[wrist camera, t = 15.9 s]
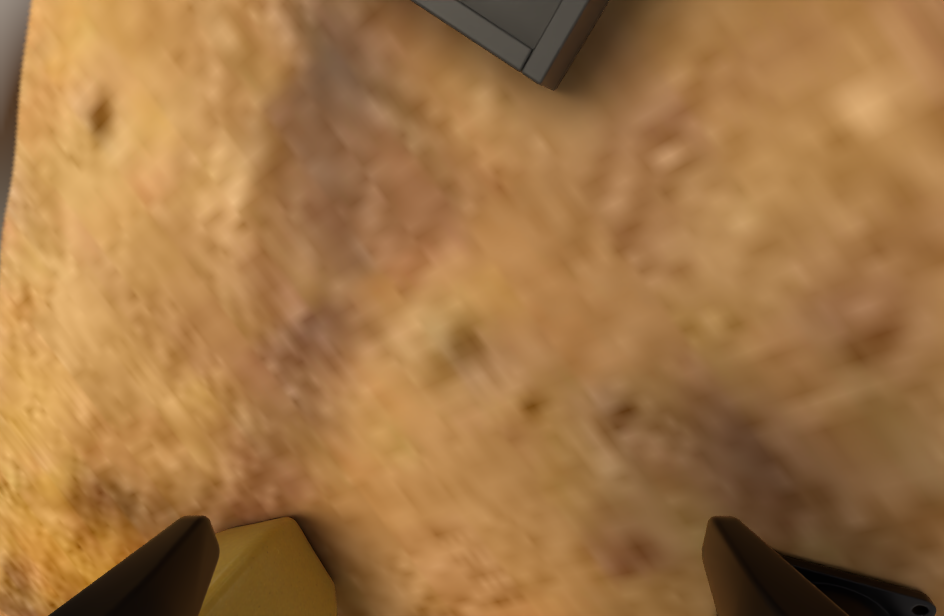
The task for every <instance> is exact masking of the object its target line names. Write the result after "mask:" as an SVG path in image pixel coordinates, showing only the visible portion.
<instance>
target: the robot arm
mask: <svg viewBox="0 0 944 616" xmlns="http://www.w3.org/2000/svg"><path fill="white" fill-rule="evenodd" d="M219 554H220V548H219V543H218V541H217V538H216V535H215V533H214V530H213V527H212V525H211V522H210V520H209V519H208V518H207V517H206V516H184V517H182V518H180V519H178V520H177V521H176V522H174V523H173V524H172V525H170V526H169V527H167V528H166V529H165V530H163V531H162V532H161V533H159V534H158V535H157V536H155V537H154V538H153V539H151V540H150V541H149V542H147V543H146V544H144V545H143V546H142V547H140V548H139V549H138V550H136V551H135V552H134V553H132V554H131V555H130V556H128V557H127V558H126V559H124V560H123V561H122V562H120V563H119V564H117V565H116V566H115V567H113V568H112V569H111V570H109V571H108V572H107V573H105V574H104V575H103V576H101V577H100V578H99V579H97V580H96V581H94V582H93V583H92V584H90V585H89V586H88V587H86V588H85V589H84V590H82V591H81V592H80V593H78V594H77V595H76V596H74V597H73V598H71V599H70V600H69V601H67V602H66V603H65V604H63V605H62V606H61V607H59V608H58V609H57V610H55V611H54V612H53V613H51V614H50V615H48V616H198V615H199V613H200V610H201V607H202V604H203V601H204V599H205V596H206V593H207V590H208V588H209V585H210V582H211V579H212V576H213V574H214V571H215V568H216V565H217V562H218V559H219ZM702 558H703V563H704V567H705V571H706V574H707V578H708V581H709V585H710V588H711V592H712V595H713V599H714V603H715V606H716V610H717V613H718V615H717V616H935V614H936V607H935V606H934V604H933V603H932V601H931V600H930V598H929V597H928V596H927V595H926V594H924V593H921V592H918V591H914V590H911V589H907V588H903V587H900V586H896V585H892V584H888V583H885V582H881V581H877V580H873V579H870V578H866V577H862V576H858V575H855V574H851V573H847V572H843V571H840V570H836V569H832V568H828V567H825V566H821V565H817V564H813V563H810V562H806V561H802V560H798V559H795V558H791V557H787V556H783V555H780V554H778V553H777V552H775V551H774V550H773V549H772V548H771V547H770V546H769V545H767V544H766V543H765V542H764V541H763V540H762V539H761V538H759V537H758V536H757V535H756V534H755V533H754V532H753V531H751V530H750V529H749V528H748V527H747V526H746V525H745V524H743V523H742V522H741V521H740V520H739V519H737V518H735V517H731V516H713V517H711V518H710V519H709V521H708V524H707V528H706V533H705V538H704V542H703V547H702Z"/></svg>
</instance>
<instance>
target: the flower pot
mask: <svg viewBox="0 0 944 616" xmlns="http://www.w3.org/2000/svg"><path fill="white" fill-rule="evenodd" d="M215 535H216V538H217V541H218V543H219V548H220V554H219V559H218V562H217V565H216V568H215V571H214V574H213V576H212V579H211V582H210V585H209V588H208V590H207V593H206V596H205V599H204V601H203V604H202V607H201V610H200V613H199V615H198V616H337V604H336V592H335V586H334V583H333V581H332V579H331V578H330V576H329V575H328V573H327V571H326V570H325V568H324V567H323V565H322V563H321V562H320V560H319V559H318V557H317V555H316V554H315V552H314V550H313V549H312V547H311V545H310V544H309V542H308V540H307V539H306V537H305V535H304V534H303V532H302V530H301V528H300V527H299V525H298V524H297V522H296V521H295V520H294V519H292V518H290V517H283V518H278V519H274V520H269V521H264V522H260V523H255V524H250V525H245V526H240V527H235V528H230V529H227V530H224V531H222V532H219V533H216V534H215Z"/></svg>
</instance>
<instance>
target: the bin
mask: <svg viewBox="0 0 944 616" xmlns="http://www.w3.org/2000/svg"><path fill="white" fill-rule="evenodd" d="M411 1H412V2H414V3H416V4H417V5H419V6H420V7H422V8H423V9H425V10H426V11H428V12H429V13H431V14H432V15H434V16H435V17H437V18H438V19H440V20H441V21H443V22H444V23H446V24H447V25H449V26H450V27H452V28H454V29H455V30H457V31H458V32H460V33H461V34H463V35H464V36H466V37H467V38H469V39H470V40H472V41H473V42H475V43H476V44H478V45H479V46H481V47H482V48H484V49H485V50H487V51H488V52H490V53H492V54H493V55H495V56H496V57H498V58H499V59H501V60H502V61H504V62H505V63H507V64H508V65H510V66H511V67H513V68H514V69H516V70H517V71H519V72H521V73H523V75H525V76H526V77H528V78H530V79H531V80H533V81H534V82H536V83H537V84H539V85H541V86H544V87H546V88H549V89H551V90H554V91H555V90H556V88H557V87H558V85H559V83H560V82H561V80H562V78H563V77H564V75H565V73H566V72H567V70H568V68H569V67H570V65H571V63H572V62H573V60H574V58H575V57H576V55H577V54H578V52H579V50H580V49H581V47H582V45H583V44H584V42H585V40H586V39H587V37H588V35H589V34H590V32H591V30H592V29H593V27H594V25H595V24H596V22H597V20H598V19H599V17H600V15H601V14H602V12H603V10H604V9H605V7H606V5H607V4H608V2H609V0H411Z"/></svg>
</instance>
